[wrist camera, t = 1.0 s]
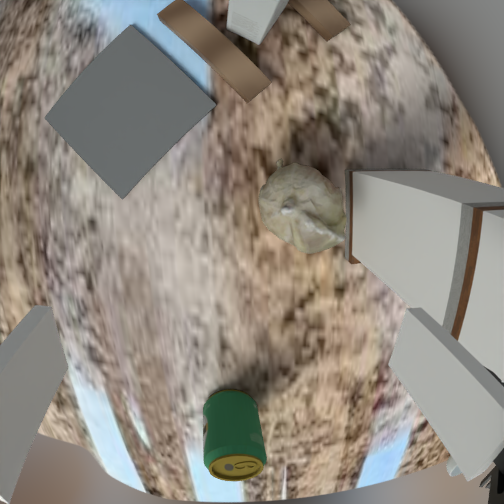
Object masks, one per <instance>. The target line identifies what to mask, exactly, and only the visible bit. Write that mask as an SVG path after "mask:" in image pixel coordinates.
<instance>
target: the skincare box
mask: <svg viewBox="0 0 504 504" xmlns="http://www.w3.org/2000/svg"><path fill="white" fill-rule="evenodd" d="M288 1H289V0H229V7H228V17H227V28H226V29H227V30H229V31H231V32H233V33H236V34H238V35H240V36H242V37H244V38H246V39H248V40H250V41H252V42H254V43H256V44H258V45H260V44H261V42H262V41H263V39H264V38H265V36H266V35H267V34H268V32H269V31H270V29H271V28H272V26H273V25H274V23H275V22H276V20H277V19H278V17H279V16H280V14H281V13H282V11H283V10H284V8H285V7H286V5H287V3H288Z"/></svg>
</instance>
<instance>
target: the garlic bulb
mask: <svg viewBox="0 0 504 504" xmlns="http://www.w3.org/2000/svg"><path fill="white" fill-rule="evenodd" d="M276 164H277V166H278V167H277V170H276V172H274V173H273V174H272V175H271V176H270V177H269V178H268V180H267V182H266V184H265V185H263V186H262V188H261V190H260V194H259V208H260V213H261V217H262V221H263V223H264V225H265V226H266V227H267V228H268V229H269V231H271V232H272V233H273V234H275V235H276V236H277V237H278V238H279V239H281V240H284V241H285V242H287V243H290V244H292V245H294V246H295V247H296V248H297V250H299V251H301V252H304V253H316V252H320V251H323V250H326V249H329V248H331V247H333V246H335V245H337V244H338V243H340V242H342V241H343V240H344V239H345V233H344V229H345V225H346V221H347V216H346V215H345V213H344V211H343V205H342V192H341V189H340V187H337V188H336V187H334V185H333V184H332V182H331V181H330V180H328V179H327V178H326V177H324V176H323V175H322V174H321V173H320V172H319V171H318V170H317V169H315V168H312V167H310V166H306V165H299V164H298V163H295V162H294V163H292V164H290V165H288V166H286V167H283V168H282V165H283V160H282V159H280V160H278V161H277V163H276Z"/></svg>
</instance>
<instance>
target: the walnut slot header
mask: <svg viewBox="0 0 504 504" xmlns="http://www.w3.org/2000/svg"><path fill="white" fill-rule="evenodd" d="M288 3H289V4H290V5H291V6H292V7H293V8H294V9H295V10H296V11H297V12H298V13H300V14H301V15H302V16H303V17H304V18H305V19H306V20H307V21H308V22H309V23H310V24H311V25H312V26H313V27H314V29H315V30H316V31H317V32H318V33H319V34H320V35H321V36H322V37H323V38H324V39H325V40H326V41H328V40H330V39H331V38H333V37H334V36H336V35H337V34H339V33H340V32H341V31H343V30H344V29H346V28H347V27H348V26H350V25H351V24H350V23H349V22H348V21H347V20H346V19H345V18H344V17H343V16H342V15H341V13H340V12H339V11H338V10H337V9H336V8H335V7H334V6H333V5H332V4H331V3H330V2H329V1H328V0H289V1H288ZM157 15H158V17H159V20H160V21H161V22H162V23H163V24H164V25H166V26H167V27H168V28H169V29H170V30H171V31H172V32H174V33H175V34H176V35H177V36H178V37H179V38H180V39H182V40H183V41H184V42H185V43H186V44H187V45H188V46H189V47H190V48H191V49H193V50H194V51H195V52H196V53H197V54H198V55H199V56H200V57H201V58H202V59H203V60H204V61H205V62H206V63H207V64H209V65H210V66H211V67H212V68H213V69H214V70H215V71H216V72H217V73H218V74H219V75H220V76H221V77H222V78H223V79H224V80H225V81H226V82H227V83H228V84H229V85H230V86H231V87H232V88H233V89H234V90H235V91H236V92H237V93H238V94H239V95H240V96H241V97H242V98H243V99H244V100H245V101H246V102H247V103H248V102H249V101H251V100H252V99H253V98H254V97H255V96H257V95H258V94H259V93H260V92H261V91H263V90H264V89H265V88H266V87H268V86H269V85H270V84H271V83H272V82H271V81H270V80H269V79H268V78H267V77H266V76H265V75H264V74H263V73H262V72H261V71H260V70H259V69H258V68H257V66H256V65H255V64H254V63H253V62H252V61H251V60H249V59H248V58H247V57H246V56H245V55H244V54H243V53H242V52H241V51H240V50H239V49H238V48H237V47H236V46H235V45H234V44H233V43H232V42H231V41H230V40H229V39H228V38H226V37H225V36H224V35H223V34H222V33H221V32H220V31H219V30H218V29H217V28H215V27H214V26H213V25H212V24H211V23H210V22H209V21H208V20H206V19H205V18H204V17H203V16H202V15H201V14H199V13H198V12H197V11H196V10H195V9H193V8H192V7H191V6H190V5H189V4H187V3H186V2H185V1H184V0H175V1H174V2H172V3H171V4H170V5H168V6H167V7H166V8H164V9H163V10H162V11H161V12H159V13H158V14H157Z"/></svg>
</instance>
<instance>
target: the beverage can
mask: <svg viewBox="0 0 504 504" xmlns="http://www.w3.org/2000/svg"><path fill="white" fill-rule="evenodd" d="M203 449H204V464H205V466H206V467H207V468H208V470H209V472H210V474H211V475H212V476H214V477H215V478H218V479H221V480H225V481H242V480H247V479H251V478H253V477H255V476H257V475H258V474H260V473H261V472H262V470H263V466H264V464H265V463H266V460H267V457H266V452H265V447H264V441H263V436H262V431H261V425H260V420H259V415H258V409H257V405H256V403H255V401H254V400H253V399H252V398H251V397H250V396H249V395H248V394H247V393H245V392H243V391H239V390H233V389H228V390H222V391H219V392H216V393H214V394H213V395H211V396H210V397H209V399H208V400H207V402H206V403H205V404H204V407H203Z"/></svg>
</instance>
